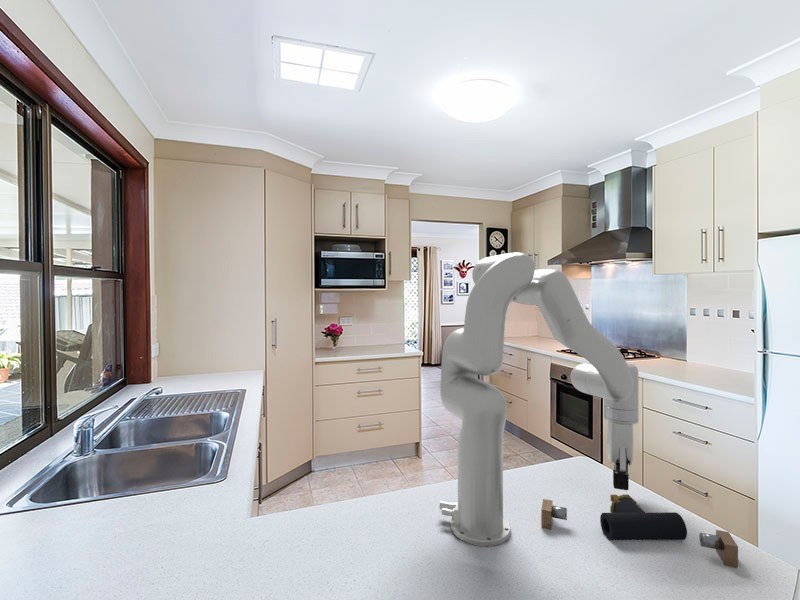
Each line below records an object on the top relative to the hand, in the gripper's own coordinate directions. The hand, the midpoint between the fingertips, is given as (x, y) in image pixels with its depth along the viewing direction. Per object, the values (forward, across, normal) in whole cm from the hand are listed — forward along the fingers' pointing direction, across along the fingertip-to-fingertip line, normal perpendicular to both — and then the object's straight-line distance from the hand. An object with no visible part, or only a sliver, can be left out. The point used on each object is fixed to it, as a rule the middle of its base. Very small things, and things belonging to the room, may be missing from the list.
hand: (620, 487), depth 101 cm
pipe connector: (+3, +13, +1) cm, 14 cm away
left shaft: (+3, +19, -14) cm, 24 cm away
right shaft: (+3, +19, +15) cm, 24 cm away
